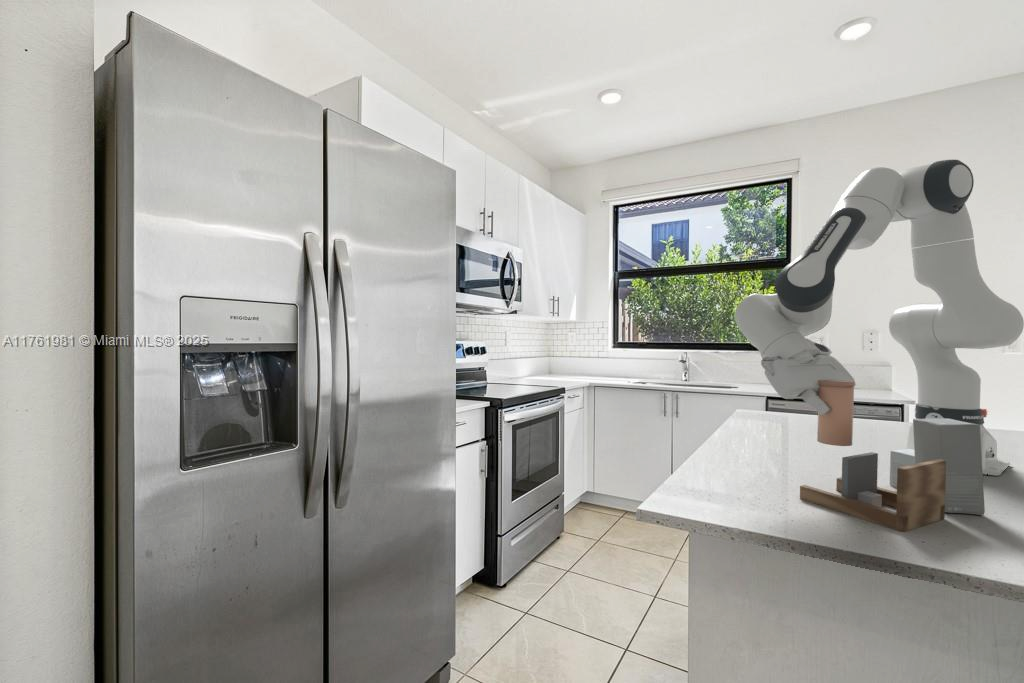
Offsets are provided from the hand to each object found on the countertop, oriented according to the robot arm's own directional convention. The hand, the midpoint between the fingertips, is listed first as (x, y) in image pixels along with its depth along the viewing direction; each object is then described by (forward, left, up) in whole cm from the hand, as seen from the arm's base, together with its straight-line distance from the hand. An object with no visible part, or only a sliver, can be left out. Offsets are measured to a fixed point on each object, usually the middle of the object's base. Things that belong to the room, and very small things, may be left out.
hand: (838, 411), depth 93 cm
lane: (0, +5, -17) cm, 17 cm away
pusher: (0, +5, -16) cm, 17 cm away
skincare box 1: (-21, +3, -17) cm, 27 cm away
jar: (0, -1, -6) cm, 6 cm away
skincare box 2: (-14, +11, -17) cm, 25 cm away
